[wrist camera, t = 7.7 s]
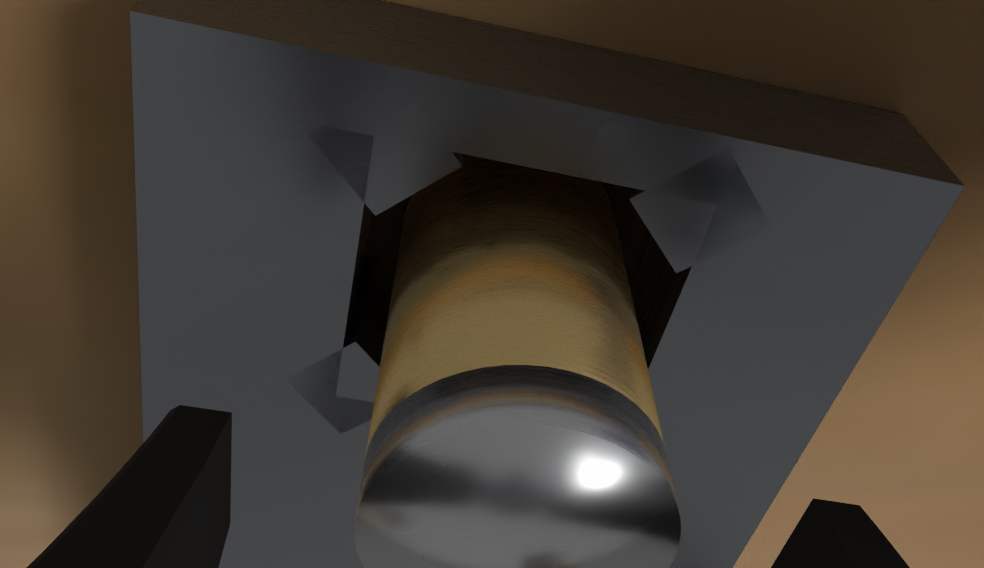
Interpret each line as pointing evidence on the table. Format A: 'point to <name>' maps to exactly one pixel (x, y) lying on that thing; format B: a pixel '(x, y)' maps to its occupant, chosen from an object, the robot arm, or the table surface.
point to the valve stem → (513, 387)
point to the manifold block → (521, 141)
